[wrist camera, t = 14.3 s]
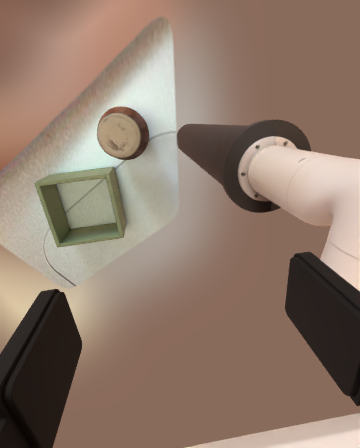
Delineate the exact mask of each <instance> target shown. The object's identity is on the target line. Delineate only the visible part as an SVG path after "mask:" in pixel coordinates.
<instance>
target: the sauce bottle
mask: <svg viewBox="0 0 360 448" xmlns="http://www.w3.org/2000/svg"><path fill="white" fill-rule="evenodd" d="M97 138H98V141H99V144H100V146H101V147H102V149H103V150H104V151H105V152H106V153H107V154H109V155H110V156H113V157H116V158H118V159H121V160H131V159H134V158H136V157H138V156H140V155H141V154H142V153H143V152H144V150H145V149H146V147H147V144H148V141H149V131H148V127H147V124H146V122H145V120H144V119H143V117H142V116H141V115H140V114H139V113H137V112H136V111H135V110H133V109H131V108H128V107H114V108H111V109H109V110H108V111H107V112H105V114H103V116H102V117H101V119H100V121H99V124H98V129H97Z"/></svg>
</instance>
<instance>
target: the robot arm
mask: <svg viewBox="0 0 360 448" xmlns="http://www.w3.org/2000/svg"><path fill="white" fill-rule="evenodd" d="M256 146H257V147H256ZM255 147H256V148H255ZM242 172H243V174H242V175H241V173H242ZM238 180H239V184H240V186H241V188H242V190H243V191H244V192H245V193H246V194H247V195H248V196H250V197H251V198H253V199H255V200H258V201H272V202H273V203H275V204H277V205H278V206H280V207H281V208H283V209H284V210H286V211H288V212H289V213H291V214H292V215H294V216H296V217H297V218H299V219H301V220H302V221H304V222H306V223H308V224H312V225H316V226H331V225H332V226H331V229H330V232H329V234H328V240H327V242H326V245H325V248H324V251H323V253H322V256H321V259H319V258H317V257H316V256H315V255H314V254H312V253H311V252H304V253H297V254H295V255H294V257H293V258H291V259H290V266H289V275H288V285H287V294H286V303H285V310H286V313H287V315H288V317H289V318H290V320H291V321H292V322H293V324H294V325H295V326H296V328H297V329H298V331H299V332H300V334H302V336H303V338H304V339H305V340H306V342H307V343H308V345H309V346H310V347H311V349H312V350H313V352H314V353H315V354H316V356H317V357H318V359H319V360H320V361H321V363H322V364H323V366H324V367H325V368H326V370H327V371H328V373H329V374H330V375H331V377H332V378H333V380H334V381H335V382H336V384H337V385H338V387H339V388H340V389H341V391H342V392H343V393H344V394H345V395H347V396H350V397H351V399H352V400H353V401H354V403H355V404H356V405H357V406H360V159H353V158H345V157H339V156H333V155H327V154H321V153H316V152H311V151H305V150H300V149H297V148H296V147H295V145H294V144H293V143H292V142H291V141H289V140H287V139H285V138H282V137H276V136H271V137H266V138H263V139H260V140H258V141H256V142H255V143H254V144H252V145H251V146H250V147H249V148H248V149H247V150H246V151H245V153H244V155H243V156H242V158H241V161H240V163H239V167H238ZM255 194H256V195H255ZM254 195H255V196H254ZM81 349H82V340H81V337H80V335H79V332H78V329H77V326H76V324H75V321H74V318H73V315H72V313H71V310H70V307H69V304H68V302H67V299H66V296H65V294H64V292H60V291H59V290H58V289H53V290H47V291H42V292H40V294H39V295H38V296H37V298H36V300H35V301H34V303H33V304H32V306H31V307H30V309H29V310H28V312H27V314H26V315H25V317H24V318H23V320H22V321H21V323H20V324H19V326H18V327H17V329H16V331H15V332H14V334H13V335H12V337H11V338H10V340H9V342H8V343H7V345H6V346H5V348H4V349H3V351H2V352H1V354H0V448H52V447H53V444H54V441H55V437H56V434H57V431H58V427H59V424H60V420H61V417H62V414H63V410H64V407H65V404H66V400H67V397H68V394H69V390H70V387H71V383H72V380H73V377H74V373H75V370H76V367H77V363H78V360H79V357H80V353H81ZM186 448H360V413H357V414H352V415H347V416H342V417H337V418H331V419H327V420H321V421H316V422H311V423H306V424H301V425H296V426H291V427H286V428H281V429H275V430H270V431H265V432H260V433H255V434H250V435H245V436H241V437H235V438H230V439H225V440H221V441H215V442H211V443H205V444H200V445H196V446H191V447H186Z"/></svg>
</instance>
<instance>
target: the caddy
mask: <svg viewBox="0 0 360 448" xmlns="http://www.w3.org/2000/svg"><path fill="white" fill-rule="evenodd" d="M99 178H106V179H107V183H108V188H109V192H110V196H111V201H112V205H113V209H114V214H115V218H116V222H117V223H112V224H105V225H98V226H91V227H84V228H77V229H70V228H69V225H68V221H67V218H66V215H65V212H64V209H63V206H62V203H61V200H60V197H59V193H58V190H57V187H56V184H60V183H68V182H75V181H83V180H91V179H99ZM34 184H35V187H36V189H37V192H38V195H39V198H40V201H41V203H42V206H43V209H44V212H45V215H46V217H47V220H48V223H49V226H50V229H51V231H52V234H53V237H54V240H55V243H56V245H57V247H64V246H70V245H77V244H84V243H91V242H97V241H104V240H111V239H118V238H123V237H124V232H125V228H126V221H125V216H124V211H123V206H122V202H121V197H120V192H119V188H118V183H117V178H116V174H115V169H114V167H108V168H100V169H92V170H84V171H76V172H68V173H60V174H53V175H48V176H46V177H44V178H42V179H41V180H39V181H37V182H35V183H34Z"/></svg>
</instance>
